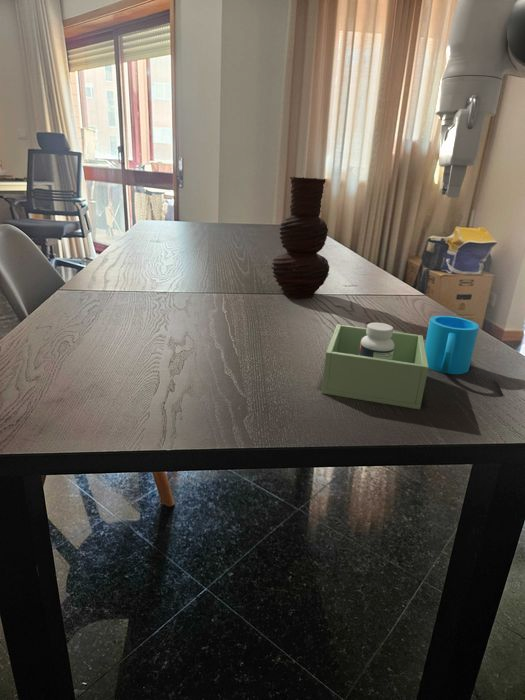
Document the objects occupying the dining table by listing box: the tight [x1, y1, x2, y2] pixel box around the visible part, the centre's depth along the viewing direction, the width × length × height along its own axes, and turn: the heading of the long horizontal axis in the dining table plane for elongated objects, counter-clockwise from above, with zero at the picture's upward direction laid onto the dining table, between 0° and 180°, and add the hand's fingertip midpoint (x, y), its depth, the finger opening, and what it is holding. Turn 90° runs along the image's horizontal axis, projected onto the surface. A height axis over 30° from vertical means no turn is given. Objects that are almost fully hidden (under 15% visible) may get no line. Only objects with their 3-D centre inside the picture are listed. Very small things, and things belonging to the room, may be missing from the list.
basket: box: [321, 323, 429, 410], centre depth 76 cm, size 15×15×7 cm
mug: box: [424, 315, 480, 375], centre depth 83 cm, size 12×8×8 cm
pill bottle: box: [359, 322, 394, 360], centre depth 75 cm, size 5×5×9 cm
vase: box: [270, 176, 330, 300], centre depth 122 cm, size 15×15×30 cm
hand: (449, 196), depth 78 cm, fingers open, 8 cm apart
